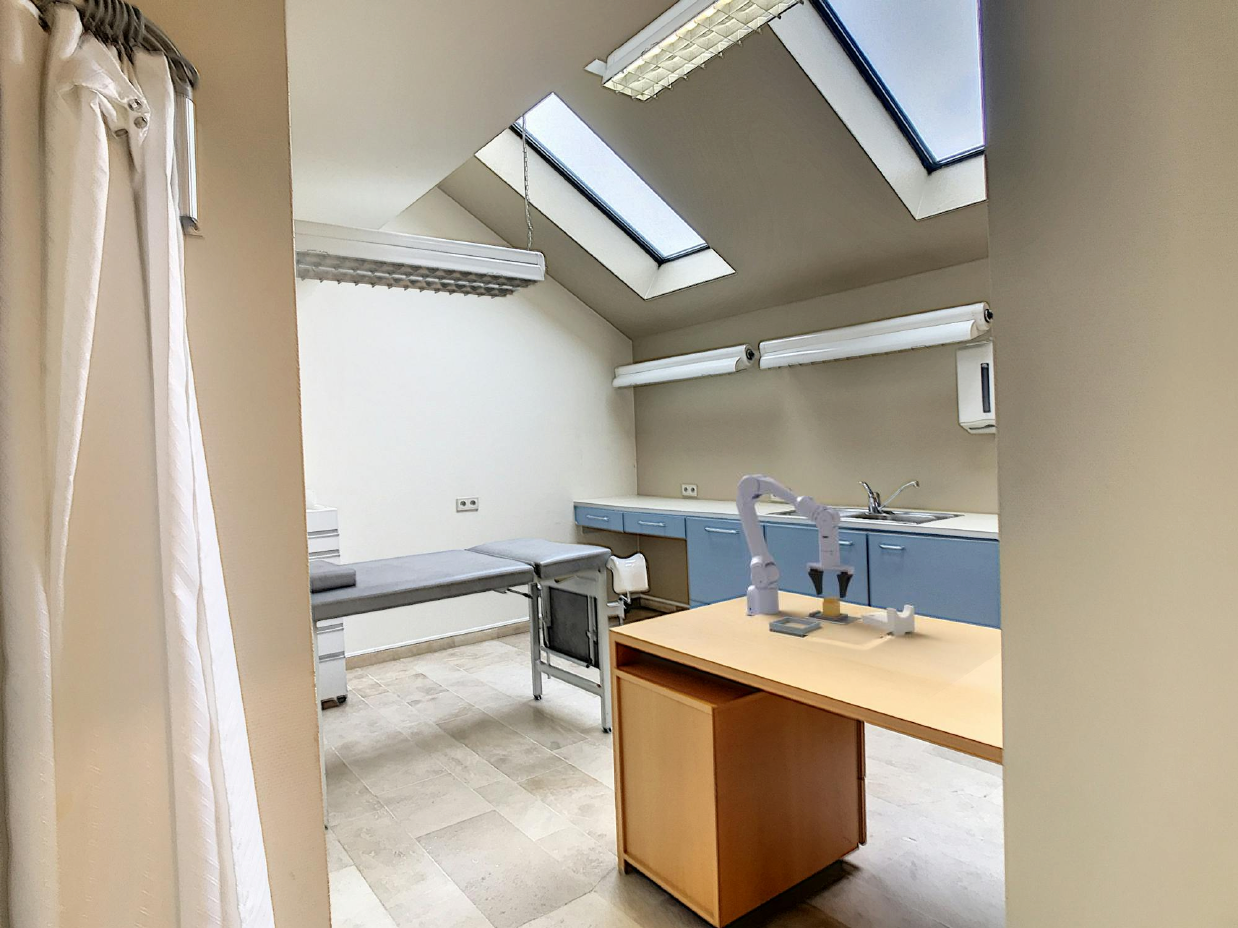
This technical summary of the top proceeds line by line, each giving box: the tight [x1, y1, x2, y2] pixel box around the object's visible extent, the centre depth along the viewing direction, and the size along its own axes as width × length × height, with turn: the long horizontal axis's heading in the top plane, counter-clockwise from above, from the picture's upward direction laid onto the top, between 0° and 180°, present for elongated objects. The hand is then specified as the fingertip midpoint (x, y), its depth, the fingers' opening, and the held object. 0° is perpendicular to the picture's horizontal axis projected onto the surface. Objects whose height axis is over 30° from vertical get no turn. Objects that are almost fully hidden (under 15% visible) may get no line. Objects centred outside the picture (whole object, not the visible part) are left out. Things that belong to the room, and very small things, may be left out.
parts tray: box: [768, 616, 821, 638], centre depth 202 cm, size 11×9×2 cm
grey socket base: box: [802, 609, 861, 626], centre depth 210 cm, size 14×10×2 cm
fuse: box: [822, 596, 841, 617], centre depth 210 cm, size 4×4×6 cm
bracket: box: [860, 604, 916, 638], centre depth 199 cm, size 13×7×8 cm, turn 22°
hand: (831, 595), depth 210 cm, fingers open, 7 cm apart
